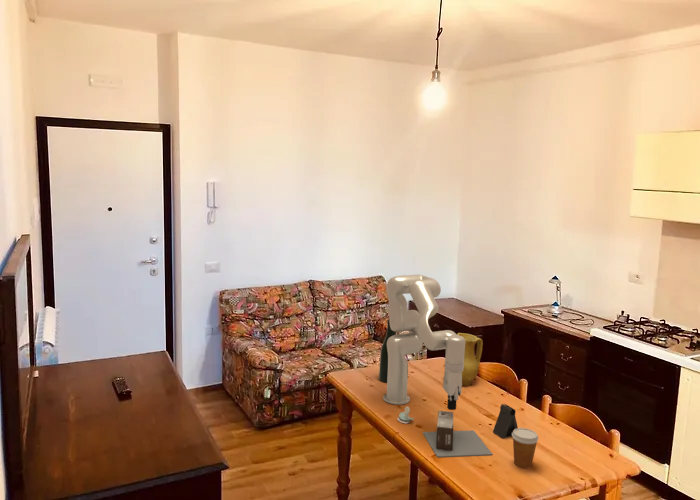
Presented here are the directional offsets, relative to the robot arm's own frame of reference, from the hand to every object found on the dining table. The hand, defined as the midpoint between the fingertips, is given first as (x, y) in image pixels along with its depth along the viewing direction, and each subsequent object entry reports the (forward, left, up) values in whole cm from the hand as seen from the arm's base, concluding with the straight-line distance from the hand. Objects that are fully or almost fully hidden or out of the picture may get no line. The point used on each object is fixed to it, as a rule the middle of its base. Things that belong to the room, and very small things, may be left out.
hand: (451, 408), depth 227 cm
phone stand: (+1, +24, -11) cm, 27 cm away
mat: (+8, 0, -11) cm, 14 cm away
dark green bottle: (-63, -12, -11) cm, 65 cm away
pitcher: (-58, +26, -11) cm, 65 cm away
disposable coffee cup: (+25, +20, -11) cm, 34 cm away
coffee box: (-2, -2, -6) cm, 6 cm away
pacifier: (-14, -16, -12) cm, 24 cm away
